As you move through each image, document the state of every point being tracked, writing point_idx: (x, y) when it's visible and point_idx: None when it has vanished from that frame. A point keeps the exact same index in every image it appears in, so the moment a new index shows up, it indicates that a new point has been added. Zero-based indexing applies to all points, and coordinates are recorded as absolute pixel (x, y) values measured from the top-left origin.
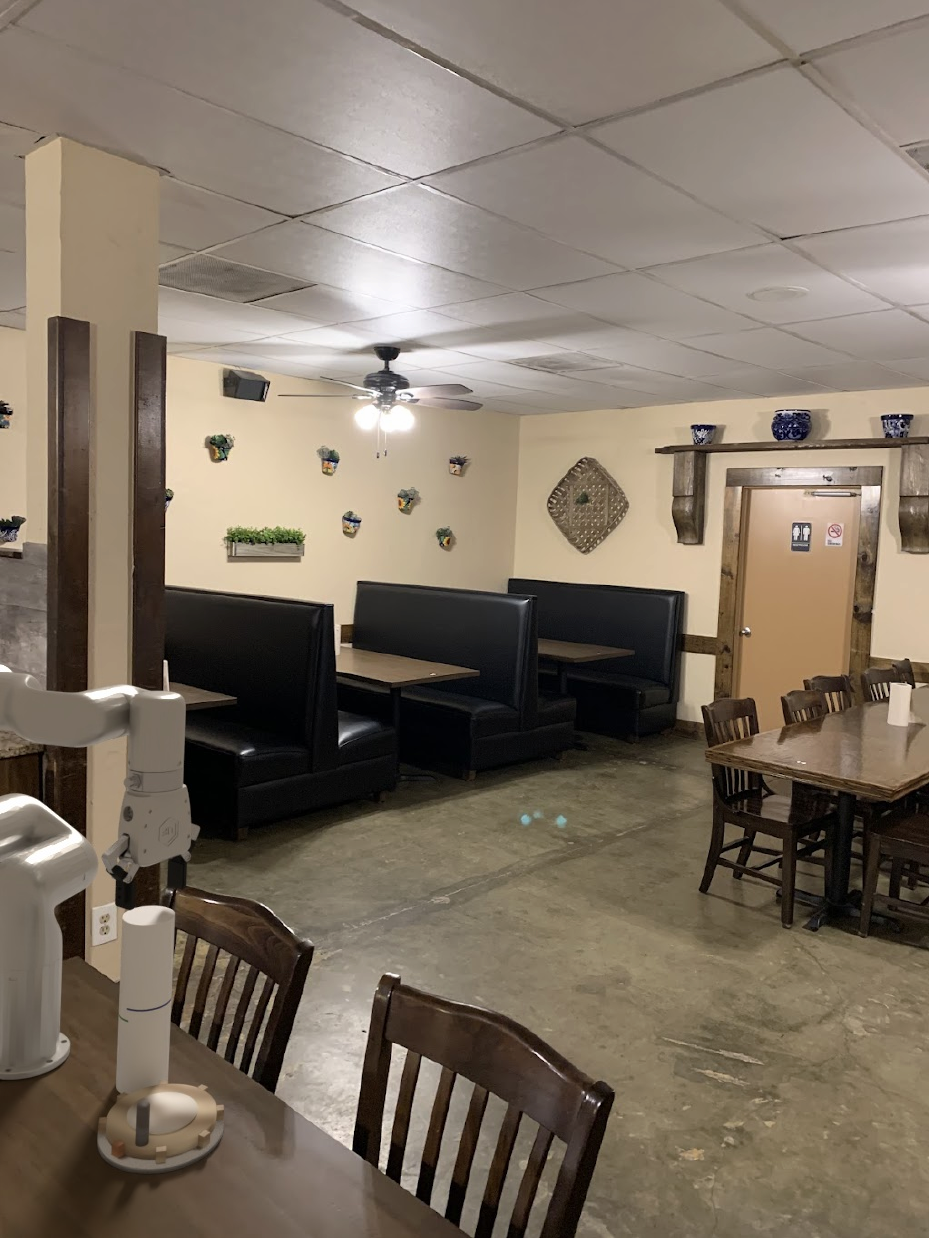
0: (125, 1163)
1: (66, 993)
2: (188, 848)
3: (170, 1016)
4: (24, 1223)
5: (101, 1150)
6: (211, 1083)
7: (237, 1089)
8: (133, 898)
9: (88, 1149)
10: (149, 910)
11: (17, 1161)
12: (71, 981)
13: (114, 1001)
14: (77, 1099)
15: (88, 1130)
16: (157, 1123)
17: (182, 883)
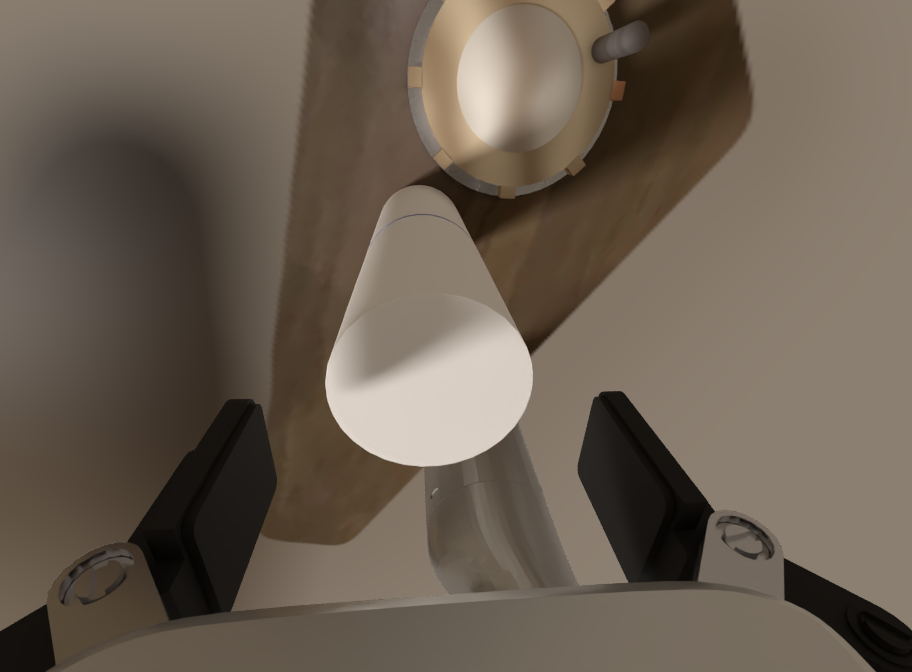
0: (616, 64)
1: (320, 483)
2: (69, 668)
3: (387, 217)
4: (747, 111)
5: (600, 132)
6: (351, 118)
7: (333, 54)
8: (638, 424)
9: (589, 164)
10: (394, 418)
11: (644, 228)
12: (294, 501)
13: (286, 426)
14: (503, 274)
15: (553, 201)
16: (553, 62)
17: (246, 420)
